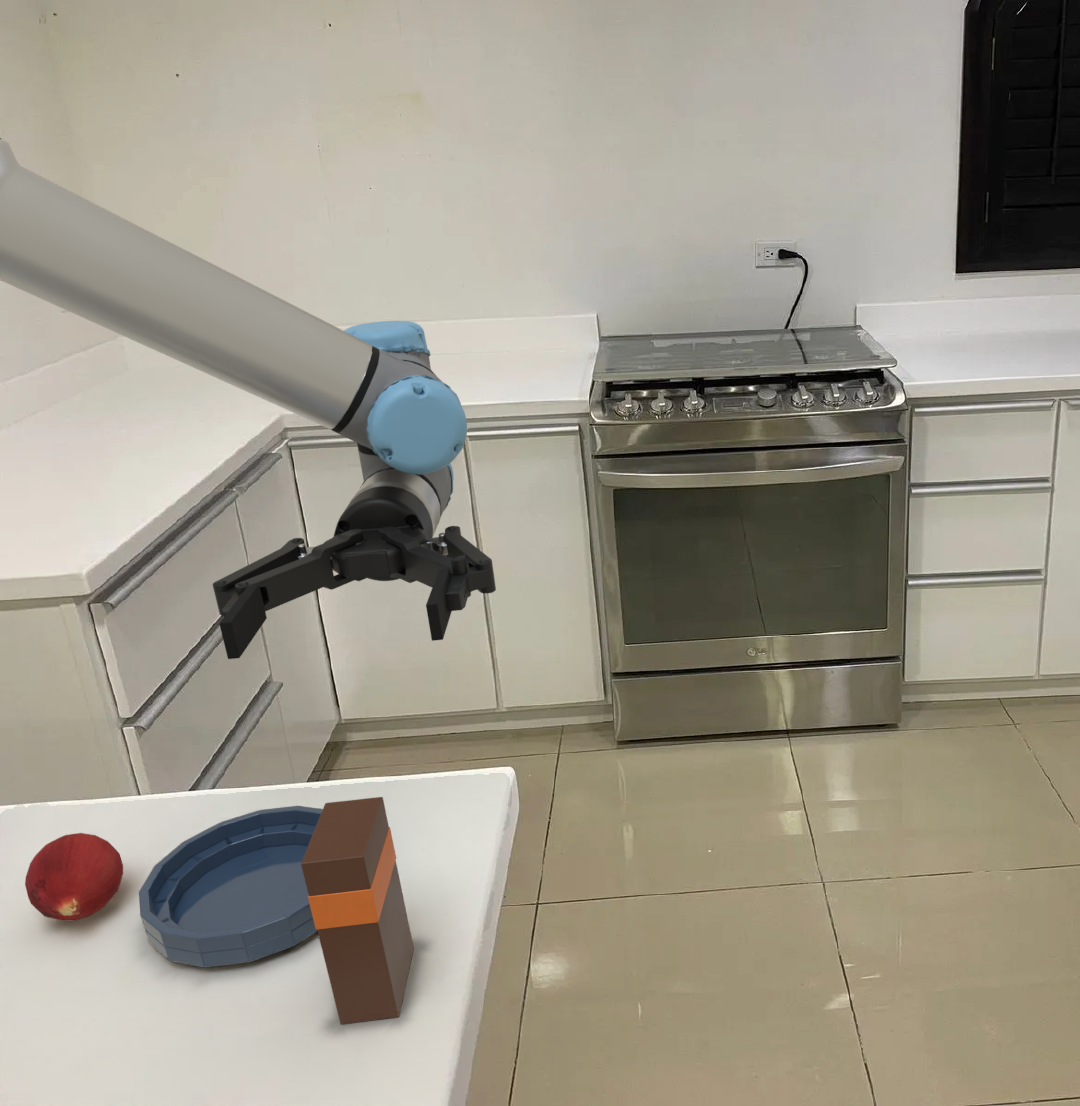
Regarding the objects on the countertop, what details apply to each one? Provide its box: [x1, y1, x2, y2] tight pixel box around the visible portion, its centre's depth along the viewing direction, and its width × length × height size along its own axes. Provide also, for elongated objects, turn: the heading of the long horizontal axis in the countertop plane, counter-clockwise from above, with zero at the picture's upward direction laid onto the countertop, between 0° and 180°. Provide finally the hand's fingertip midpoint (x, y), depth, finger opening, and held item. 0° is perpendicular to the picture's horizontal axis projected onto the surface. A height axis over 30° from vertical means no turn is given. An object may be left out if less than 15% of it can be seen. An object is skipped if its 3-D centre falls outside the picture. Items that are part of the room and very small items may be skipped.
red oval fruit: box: [24, 832, 124, 922], centre depth 76 cm, size 6×6×8 cm
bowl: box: [138, 805, 323, 968], centre depth 76 cm, size 14×14×3 cm
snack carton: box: [301, 796, 415, 1025], centre depth 66 cm, size 4×6×12 cm, turn 7°
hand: (332, 631), depth 73 cm, fingers open, 13 cm apart
